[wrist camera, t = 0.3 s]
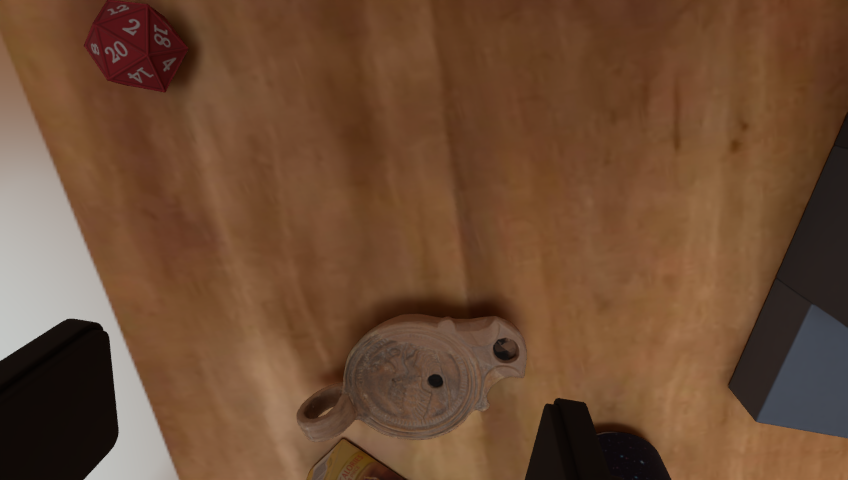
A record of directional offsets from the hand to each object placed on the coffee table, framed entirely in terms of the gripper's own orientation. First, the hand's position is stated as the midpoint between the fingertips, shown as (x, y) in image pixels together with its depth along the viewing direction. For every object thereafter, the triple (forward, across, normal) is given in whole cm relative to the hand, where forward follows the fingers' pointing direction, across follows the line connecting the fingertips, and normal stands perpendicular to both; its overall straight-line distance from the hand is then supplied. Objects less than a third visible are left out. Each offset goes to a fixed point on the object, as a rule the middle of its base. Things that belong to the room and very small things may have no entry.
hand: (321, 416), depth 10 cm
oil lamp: (+17, -2, +9) cm, 20 cm away
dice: (+17, +13, -6) cm, 22 cm away
